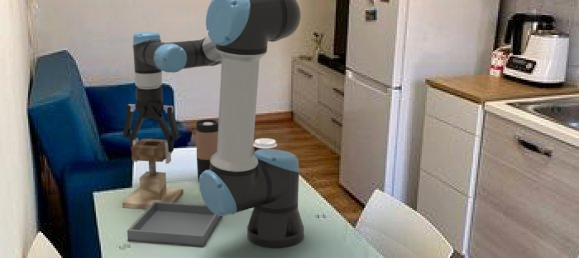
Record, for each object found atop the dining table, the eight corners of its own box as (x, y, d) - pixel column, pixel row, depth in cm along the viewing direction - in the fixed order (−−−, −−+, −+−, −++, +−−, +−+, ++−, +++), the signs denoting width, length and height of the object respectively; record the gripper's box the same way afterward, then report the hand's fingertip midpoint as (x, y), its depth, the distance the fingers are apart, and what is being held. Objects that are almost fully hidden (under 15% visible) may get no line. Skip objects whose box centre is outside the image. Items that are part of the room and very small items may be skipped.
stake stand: (183, 193, 197) (181, 147, 193) (168, 210, 184) (167, 161, 180) (139, 190, 199) (137, 144, 195) (122, 207, 185) (119, 158, 182)
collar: (171, 152, 191) (171, 140, 190) (162, 161, 182) (161, 148, 181) (143, 151, 192) (142, 138, 191) (132, 160, 184) (131, 147, 183)
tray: (222, 216, 181) (221, 206, 180) (203, 247, 162) (202, 236, 161) (154, 211, 183) (153, 201, 182) (127, 241, 164) (127, 230, 163)
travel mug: (194, 184, 205) (192, 124, 200) (201, 176, 212) (200, 118, 207) (217, 186, 204) (216, 126, 198) (223, 178, 211) (222, 120, 206)
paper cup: (273, 186, 204) (274, 145, 200) (250, 184, 205) (250, 143, 202) (278, 178, 211) (279, 138, 208) (256, 176, 213) (256, 136, 209)
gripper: (189, 85, 184) (191, 159, 190) (117, 82, 187) (122, 155, 193) (181, 90, 177) (184, 167, 183) (107, 87, 180) (112, 163, 186)
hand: (152, 161), depth 188 cm, fingers closed on collar, 9 cm apart
